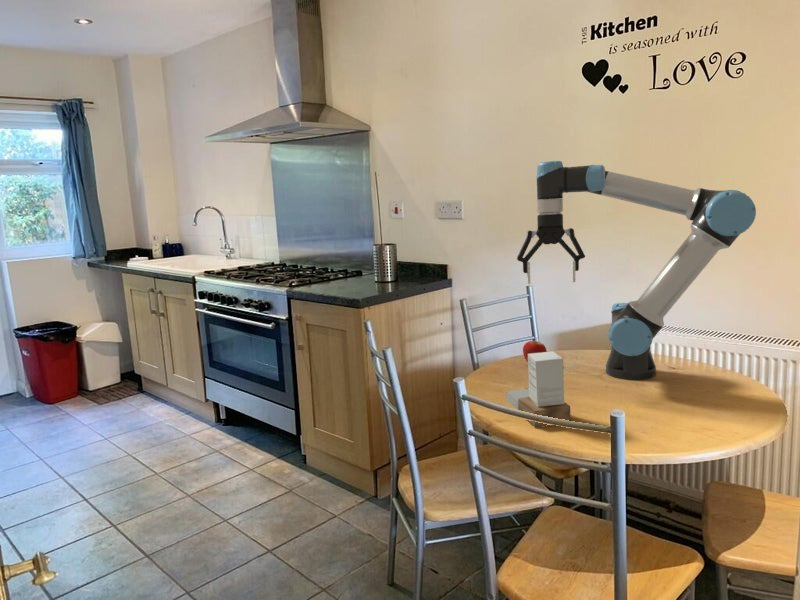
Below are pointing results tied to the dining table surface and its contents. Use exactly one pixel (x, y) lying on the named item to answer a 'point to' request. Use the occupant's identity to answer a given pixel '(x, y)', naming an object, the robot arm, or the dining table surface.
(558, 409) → the walnut block
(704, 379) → the dining table surface
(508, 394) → the slate coaster
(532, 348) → the apple
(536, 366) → the supplement box
